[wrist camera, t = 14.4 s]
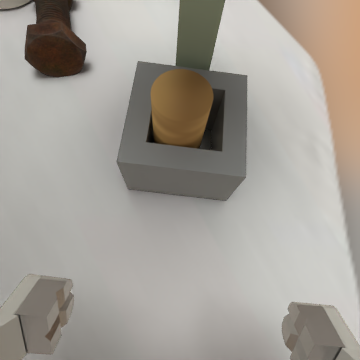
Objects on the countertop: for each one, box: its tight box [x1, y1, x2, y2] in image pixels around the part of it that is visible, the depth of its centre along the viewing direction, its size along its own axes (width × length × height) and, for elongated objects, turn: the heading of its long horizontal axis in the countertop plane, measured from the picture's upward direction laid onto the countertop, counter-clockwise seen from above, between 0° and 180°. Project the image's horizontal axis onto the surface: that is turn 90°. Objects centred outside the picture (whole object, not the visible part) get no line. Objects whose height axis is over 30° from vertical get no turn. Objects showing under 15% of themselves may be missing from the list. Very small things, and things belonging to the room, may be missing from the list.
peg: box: [151, 69, 213, 149], centre depth 20 cm, size 4×4×9 cm
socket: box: [117, 61, 247, 201], centre depth 22 cm, size 9×9×6 cm
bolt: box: [25, 0, 86, 77], centre depth 28 cm, size 6×5×15 cm
